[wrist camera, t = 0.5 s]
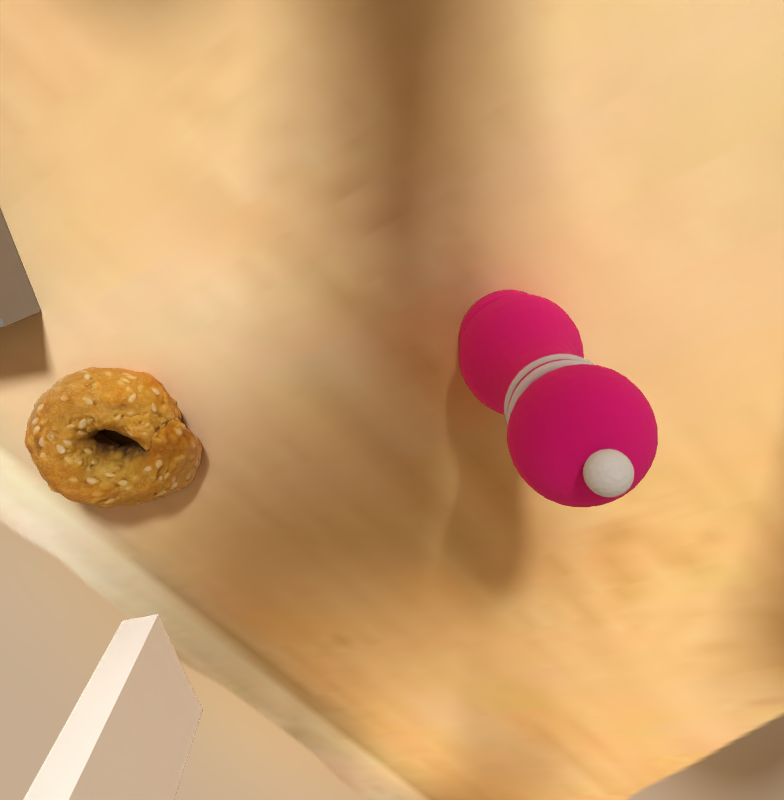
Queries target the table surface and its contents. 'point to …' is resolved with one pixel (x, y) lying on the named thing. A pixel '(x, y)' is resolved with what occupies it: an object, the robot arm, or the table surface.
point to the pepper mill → (556, 401)
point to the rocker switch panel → (13, 282)
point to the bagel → (100, 457)
